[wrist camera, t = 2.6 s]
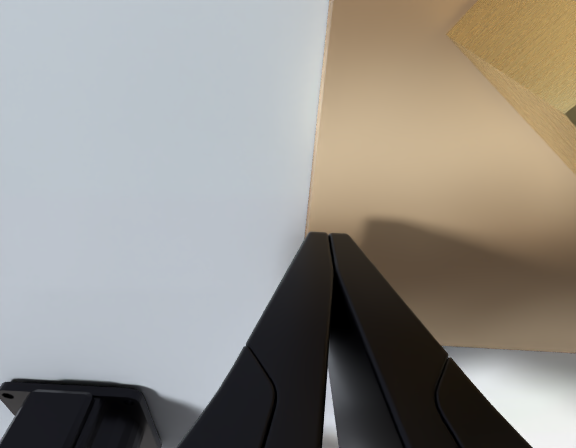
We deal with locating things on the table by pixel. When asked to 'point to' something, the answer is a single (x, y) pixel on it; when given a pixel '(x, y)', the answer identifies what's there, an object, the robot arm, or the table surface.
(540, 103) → the olive tan bar
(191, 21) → the table surface
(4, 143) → the table surface
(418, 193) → the oak board
